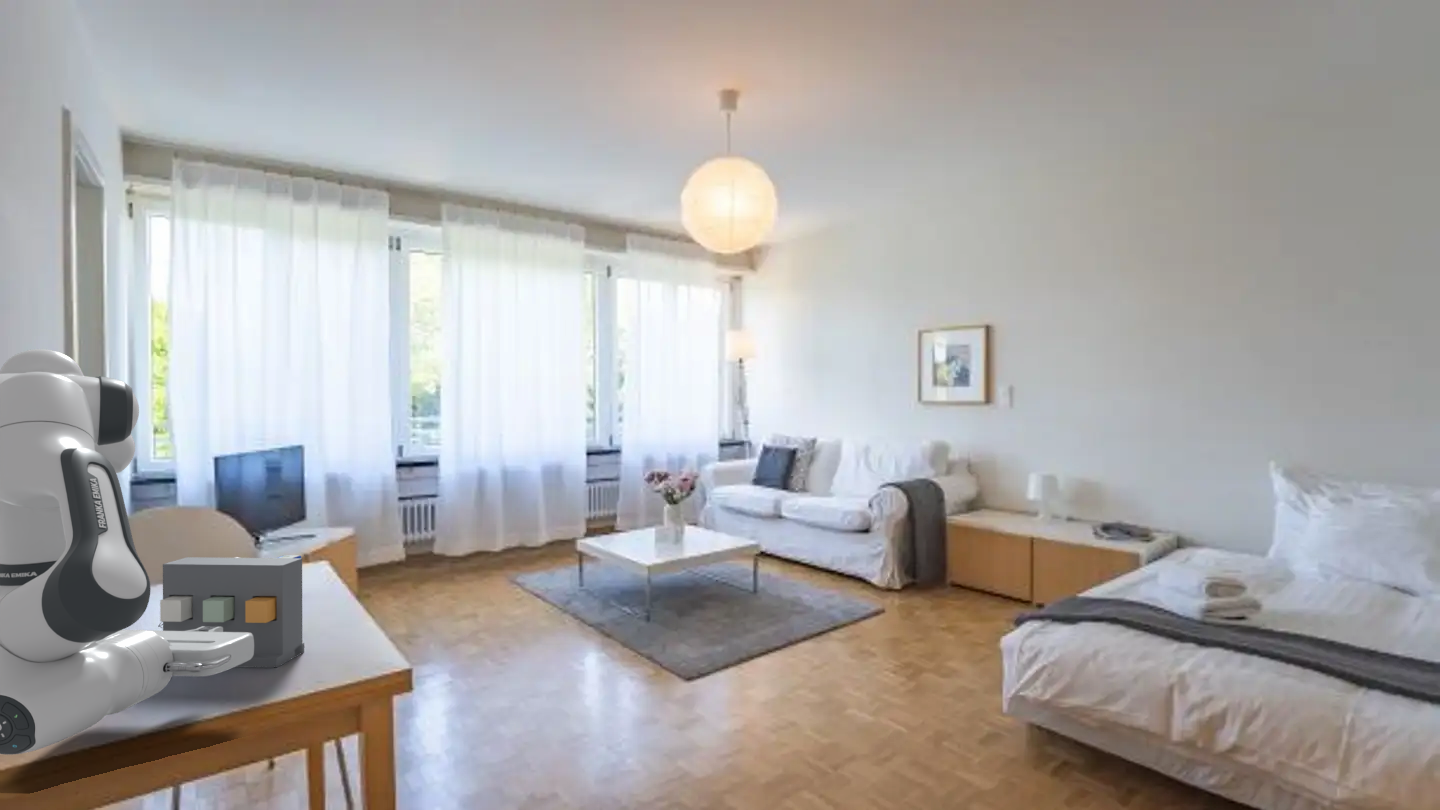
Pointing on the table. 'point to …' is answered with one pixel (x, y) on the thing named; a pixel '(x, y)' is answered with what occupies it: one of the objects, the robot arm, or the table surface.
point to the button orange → (261, 609)
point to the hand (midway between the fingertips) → (213, 631)
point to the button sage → (219, 609)
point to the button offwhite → (176, 608)
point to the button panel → (243, 600)
